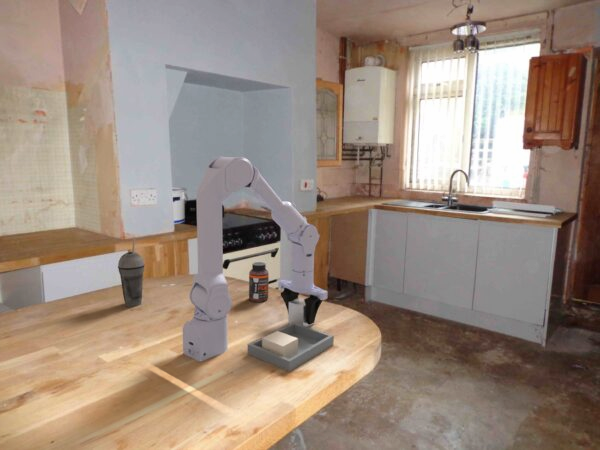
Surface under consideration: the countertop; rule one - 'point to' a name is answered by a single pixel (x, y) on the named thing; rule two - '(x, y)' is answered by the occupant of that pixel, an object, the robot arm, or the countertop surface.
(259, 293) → the supplement bottle
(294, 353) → the cream bevelled block
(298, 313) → the tin
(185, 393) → the countertop surface
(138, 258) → the beverage cup
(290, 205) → the robot arm
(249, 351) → the tote
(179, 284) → the countertop surface
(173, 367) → the countertop surface
